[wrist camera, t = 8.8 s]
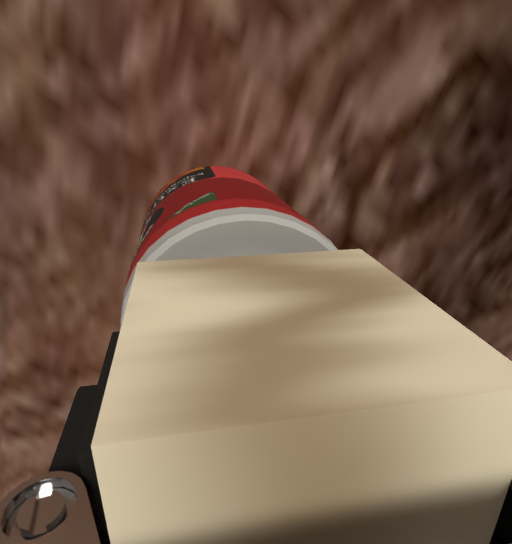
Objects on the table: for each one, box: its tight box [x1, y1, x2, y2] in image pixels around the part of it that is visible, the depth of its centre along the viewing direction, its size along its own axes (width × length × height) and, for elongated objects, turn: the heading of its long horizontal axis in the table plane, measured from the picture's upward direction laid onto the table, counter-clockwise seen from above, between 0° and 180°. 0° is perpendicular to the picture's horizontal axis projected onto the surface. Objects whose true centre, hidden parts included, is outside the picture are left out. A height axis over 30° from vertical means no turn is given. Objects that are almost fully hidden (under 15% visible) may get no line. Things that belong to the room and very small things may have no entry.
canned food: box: [121, 166, 337, 326], centre depth 17 cm, size 8×8×11 cm
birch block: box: [91, 249, 512, 544], centre depth 9 cm, size 6×6×6 cm
